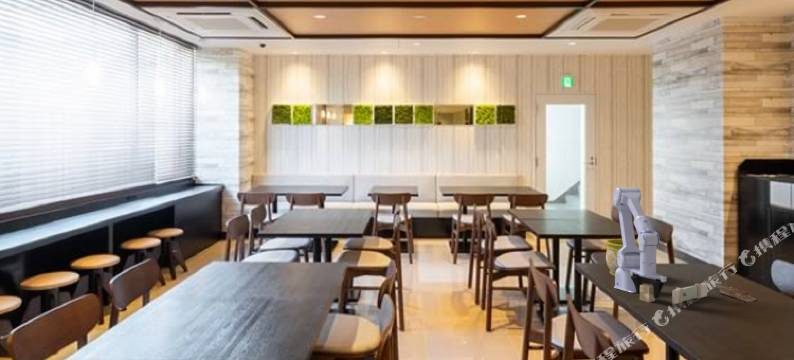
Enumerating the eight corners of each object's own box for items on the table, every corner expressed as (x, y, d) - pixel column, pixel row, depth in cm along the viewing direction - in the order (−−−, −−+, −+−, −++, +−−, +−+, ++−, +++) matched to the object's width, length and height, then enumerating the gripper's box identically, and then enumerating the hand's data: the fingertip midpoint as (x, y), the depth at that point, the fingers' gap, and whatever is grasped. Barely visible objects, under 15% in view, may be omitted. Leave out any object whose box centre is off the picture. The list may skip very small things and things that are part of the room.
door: (679, 300, 200) (679, 288, 200) (694, 296, 205) (694, 285, 204) (683, 301, 199) (683, 289, 198) (698, 297, 203) (698, 286, 203)
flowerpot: (605, 279, 235) (605, 244, 234) (605, 270, 251) (606, 237, 251) (648, 282, 228) (649, 246, 227) (645, 273, 245) (646, 239, 244)
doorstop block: (639, 299, 203) (639, 285, 203) (646, 298, 205) (646, 283, 205) (648, 302, 200) (648, 287, 199) (655, 300, 202) (655, 286, 201)
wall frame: (671, 303, 198) (671, 288, 198) (702, 295, 208) (703, 281, 208) (675, 304, 197) (676, 290, 196) (707, 296, 207) (708, 282, 206)
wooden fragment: (763, 303, 197) (763, 300, 197) (731, 302, 199) (731, 299, 199) (732, 285, 223) (732, 283, 223) (704, 285, 225) (705, 282, 225)
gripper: (625, 259, 206) (625, 292, 207) (658, 266, 193) (657, 301, 194) (636, 258, 209) (636, 290, 210) (670, 264, 197) (669, 299, 197)
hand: (647, 295), depth 202 cm, fingers open, 7 cm apart
